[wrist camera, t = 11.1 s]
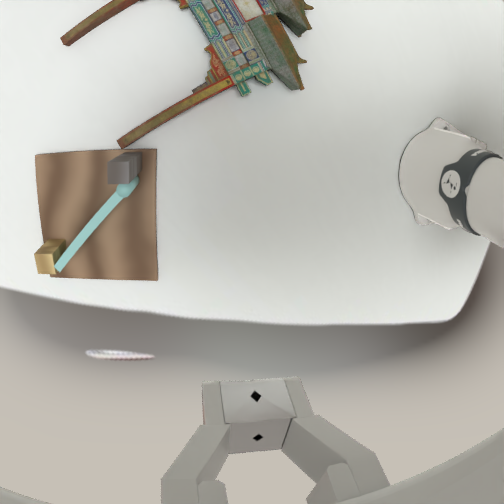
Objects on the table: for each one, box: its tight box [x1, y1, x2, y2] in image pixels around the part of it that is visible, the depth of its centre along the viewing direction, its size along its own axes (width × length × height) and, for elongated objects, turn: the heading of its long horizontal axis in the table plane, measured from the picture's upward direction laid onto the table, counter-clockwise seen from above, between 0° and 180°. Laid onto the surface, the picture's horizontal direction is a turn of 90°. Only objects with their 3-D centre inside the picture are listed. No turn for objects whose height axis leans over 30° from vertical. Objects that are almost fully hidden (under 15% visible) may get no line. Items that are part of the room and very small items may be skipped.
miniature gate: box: [61, 0, 314, 149], centre depth 30 cm, size 27×6×30 cm
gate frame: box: [34, 149, 158, 281], centre depth 36 cm, size 18×19×9 cm
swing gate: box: [54, 175, 139, 272], centre depth 37 cm, size 2×16×5 cm, turn 130°
